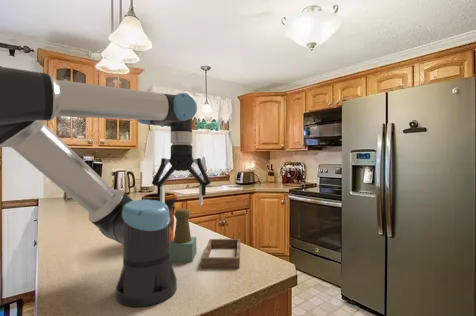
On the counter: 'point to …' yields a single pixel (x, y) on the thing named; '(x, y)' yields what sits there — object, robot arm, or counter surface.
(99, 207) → the robot arm
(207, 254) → the wooden frame
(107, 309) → the counter surface
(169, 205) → the vessel
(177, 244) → the stand
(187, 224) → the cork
